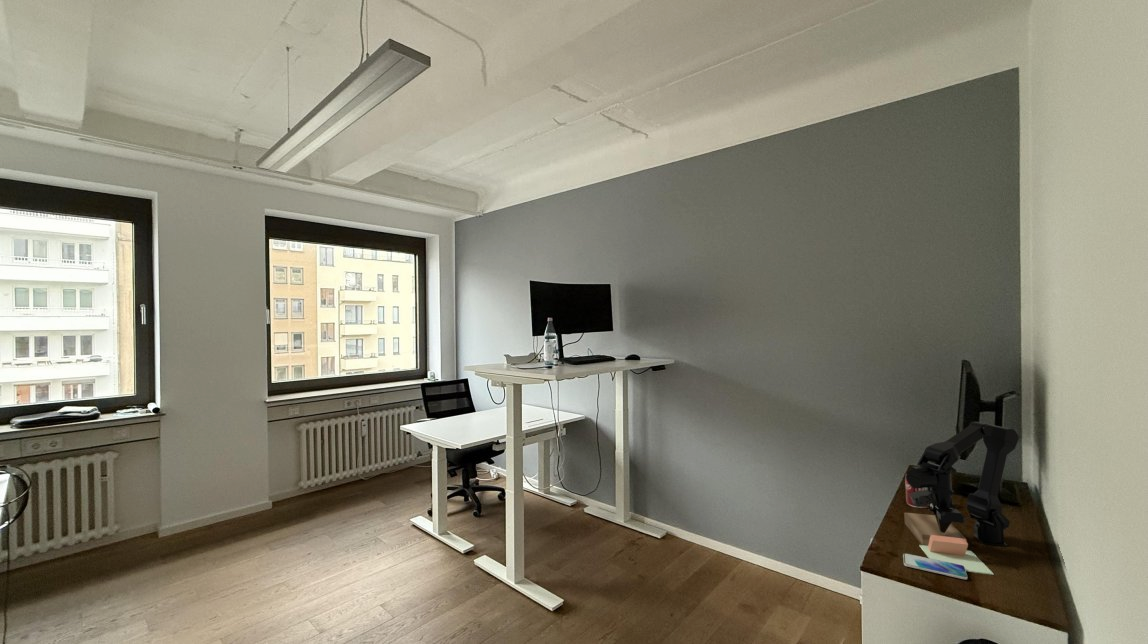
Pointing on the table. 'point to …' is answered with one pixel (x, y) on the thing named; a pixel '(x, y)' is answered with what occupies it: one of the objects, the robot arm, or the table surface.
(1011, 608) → the table surface
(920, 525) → the tan flat slab
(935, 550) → the block
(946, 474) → the robot arm
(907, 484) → the soda can
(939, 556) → the mat
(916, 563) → the smartphone
